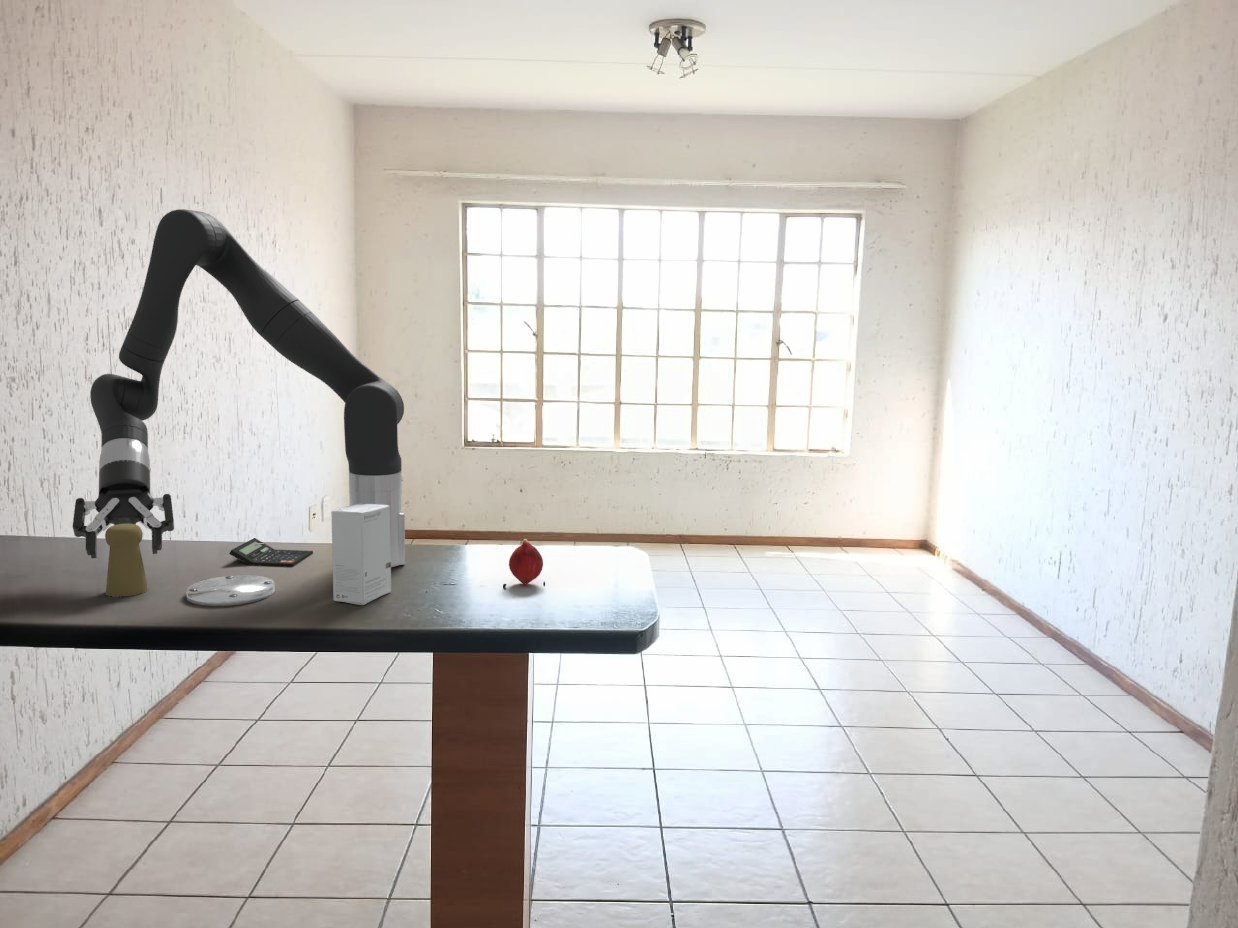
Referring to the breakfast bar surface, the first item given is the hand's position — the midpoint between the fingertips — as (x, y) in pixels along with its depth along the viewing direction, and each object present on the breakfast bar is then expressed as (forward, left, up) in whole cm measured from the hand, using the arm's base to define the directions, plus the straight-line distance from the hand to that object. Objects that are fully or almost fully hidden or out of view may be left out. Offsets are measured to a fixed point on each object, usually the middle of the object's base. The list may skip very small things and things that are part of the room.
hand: (124, 553), depth 139 cm
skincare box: (-34, +16, -6) cm, 38 cm away
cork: (0, 0, -6) cm, 6 cm away
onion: (-61, +19, -6) cm, 64 cm away
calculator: (-23, -13, -7) cm, 27 cm away
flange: (-15, +7, -6) cm, 18 cm away
